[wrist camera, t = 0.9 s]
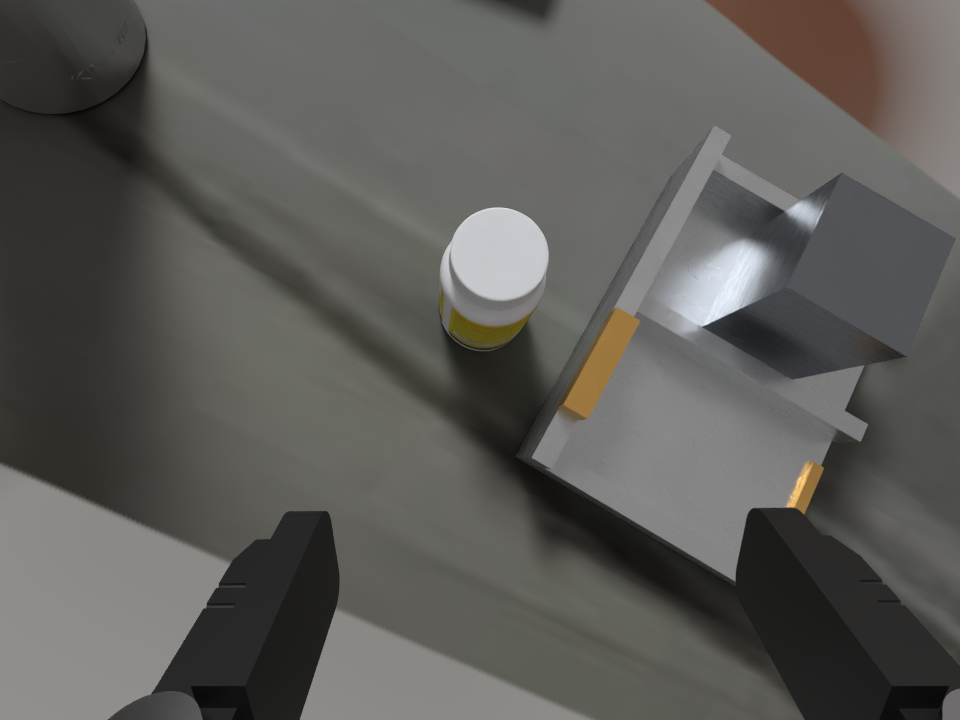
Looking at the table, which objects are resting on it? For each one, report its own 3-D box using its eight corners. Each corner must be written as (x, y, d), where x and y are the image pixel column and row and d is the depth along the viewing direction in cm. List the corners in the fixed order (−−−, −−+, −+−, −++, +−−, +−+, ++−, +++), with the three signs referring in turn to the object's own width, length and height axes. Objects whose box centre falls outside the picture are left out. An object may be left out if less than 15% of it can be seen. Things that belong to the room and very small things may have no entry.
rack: (512, 455, 28) (546, 457, 20) (669, 175, 32) (753, 76, 23) (745, 593, 28) (877, 653, 20) (876, 295, 32) (1035, 238, 23)
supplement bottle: (539, 328, 30) (581, 280, 21) (464, 367, 29) (477, 333, 21) (498, 254, 30) (522, 179, 22) (423, 291, 29) (419, 228, 21)
